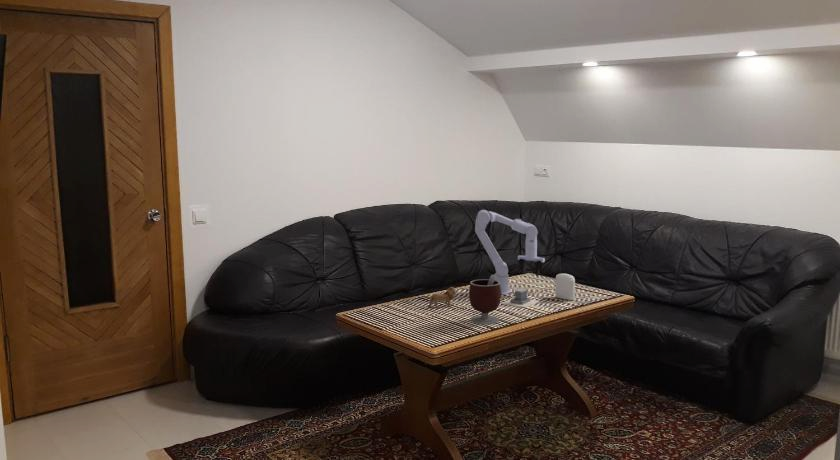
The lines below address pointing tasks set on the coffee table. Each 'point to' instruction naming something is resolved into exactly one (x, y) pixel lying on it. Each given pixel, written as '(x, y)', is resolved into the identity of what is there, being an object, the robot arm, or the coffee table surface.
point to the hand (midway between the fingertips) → (530, 274)
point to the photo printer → (565, 286)
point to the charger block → (521, 294)
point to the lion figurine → (443, 297)
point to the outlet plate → (520, 302)
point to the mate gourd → (485, 299)
